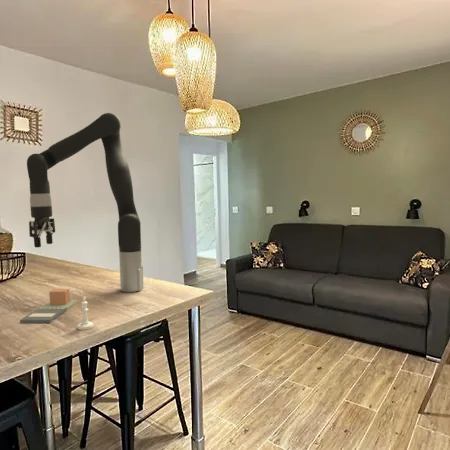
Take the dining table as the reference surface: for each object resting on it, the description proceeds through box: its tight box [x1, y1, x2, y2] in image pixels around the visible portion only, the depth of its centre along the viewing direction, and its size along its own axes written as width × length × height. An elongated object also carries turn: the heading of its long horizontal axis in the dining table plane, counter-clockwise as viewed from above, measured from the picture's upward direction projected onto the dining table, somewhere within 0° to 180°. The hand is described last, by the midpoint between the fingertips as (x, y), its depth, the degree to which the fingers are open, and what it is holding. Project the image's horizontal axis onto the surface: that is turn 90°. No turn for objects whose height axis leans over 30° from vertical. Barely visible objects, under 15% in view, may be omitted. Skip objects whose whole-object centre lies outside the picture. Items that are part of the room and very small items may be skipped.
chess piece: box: [76, 295, 95, 331], centre depth 112 cm, size 5×5×10 cm
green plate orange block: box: [39, 288, 79, 311], centre depth 132 cm, size 10×9×6 cm
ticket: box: [19, 307, 68, 324], centre depth 121 cm, size 10×12×1 cm
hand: (43, 245), depth 141 cm, fingers open, 8 cm apart
